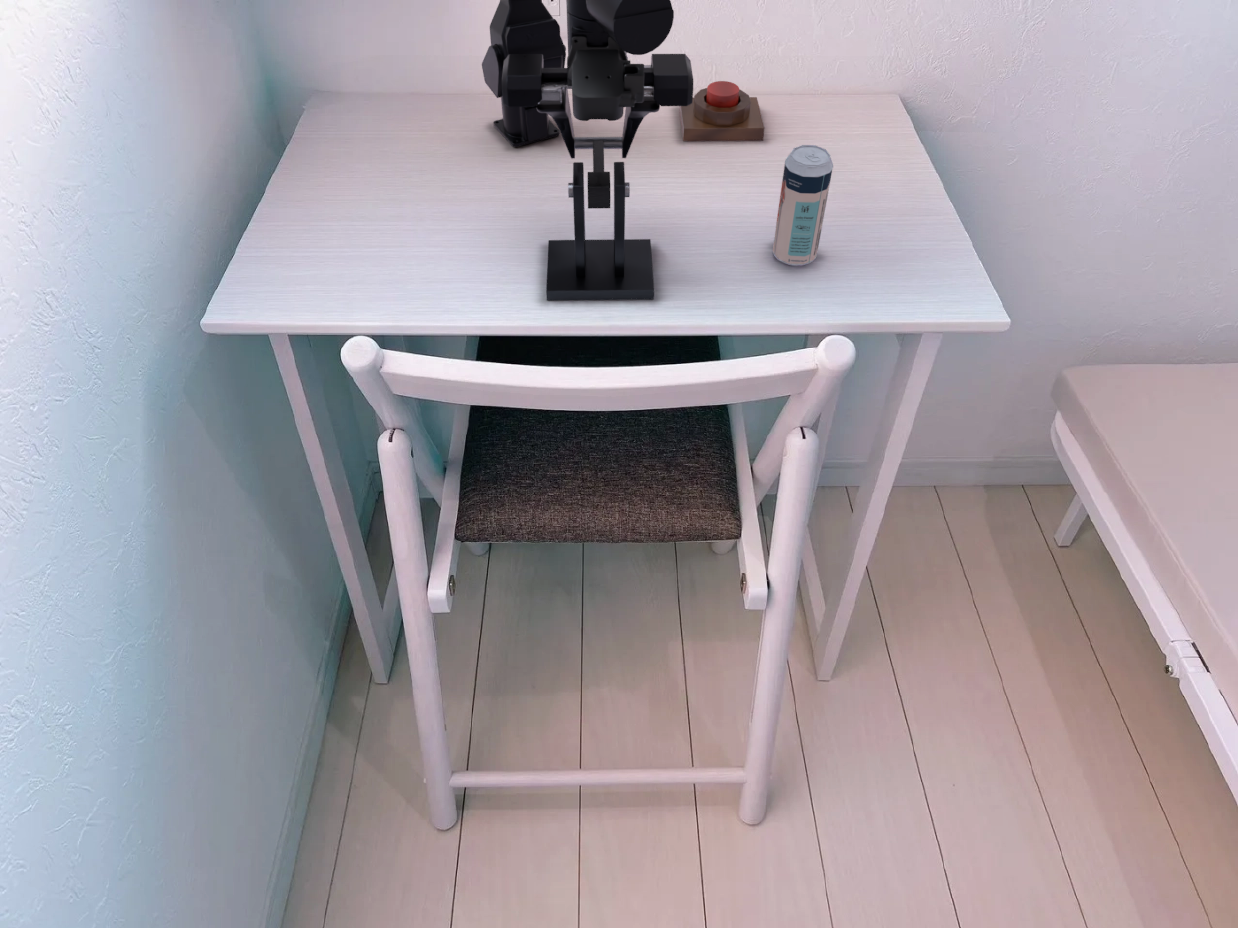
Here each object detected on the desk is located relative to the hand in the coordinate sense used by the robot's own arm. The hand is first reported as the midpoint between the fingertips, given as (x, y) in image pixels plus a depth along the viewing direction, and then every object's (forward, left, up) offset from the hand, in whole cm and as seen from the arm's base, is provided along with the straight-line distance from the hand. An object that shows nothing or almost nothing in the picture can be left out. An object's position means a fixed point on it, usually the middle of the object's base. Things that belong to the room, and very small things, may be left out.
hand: (598, 156), depth 104 cm
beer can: (+16, +16, -9) cm, 24 cm away
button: (-12, +24, -5) cm, 27 cm away
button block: (-12, +24, -8) cm, 28 cm away
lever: (+5, -2, +1) cm, 5 cm away
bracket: (+8, -4, -8) cm, 12 cm away
